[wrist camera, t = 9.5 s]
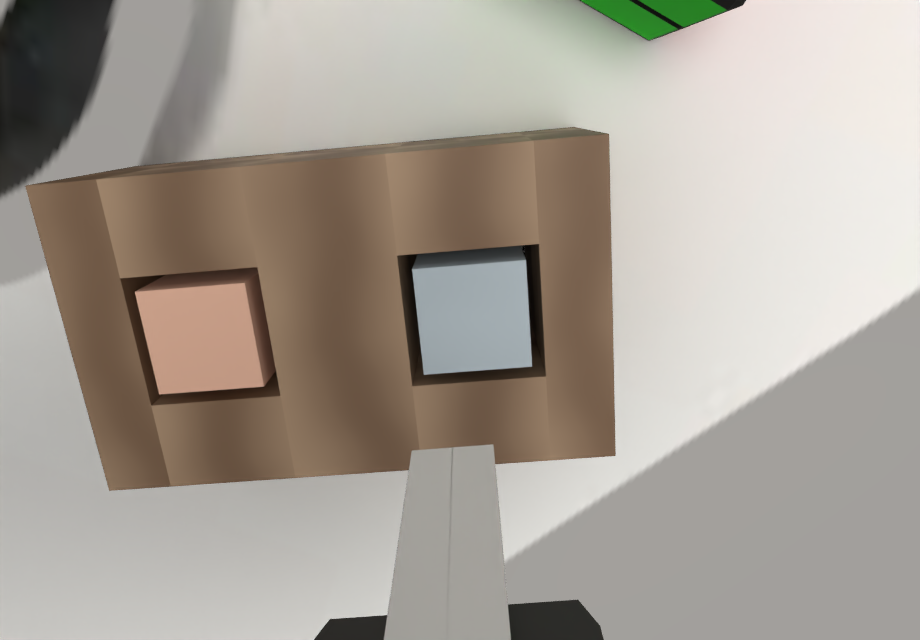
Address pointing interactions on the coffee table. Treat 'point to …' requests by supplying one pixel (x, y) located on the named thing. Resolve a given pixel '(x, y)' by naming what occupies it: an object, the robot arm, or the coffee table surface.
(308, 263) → the walnut block
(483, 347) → the slate peg
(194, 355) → the terracotta peg
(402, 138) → the coffee table surface
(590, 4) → the puzzle cube
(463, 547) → the robot arm
